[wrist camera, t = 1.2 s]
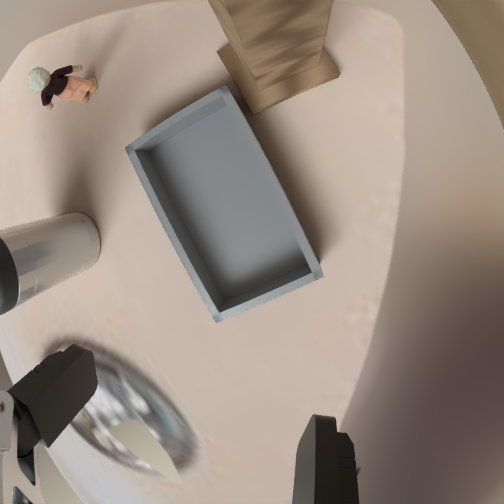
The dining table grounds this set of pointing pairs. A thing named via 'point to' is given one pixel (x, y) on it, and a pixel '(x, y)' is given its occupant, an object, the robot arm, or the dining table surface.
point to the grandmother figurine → (60, 85)
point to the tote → (223, 206)
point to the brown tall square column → (275, 47)
